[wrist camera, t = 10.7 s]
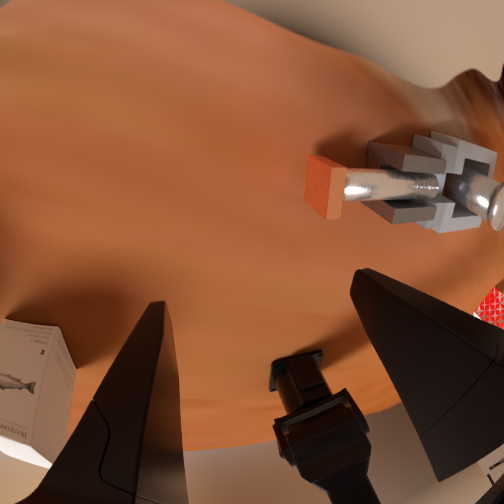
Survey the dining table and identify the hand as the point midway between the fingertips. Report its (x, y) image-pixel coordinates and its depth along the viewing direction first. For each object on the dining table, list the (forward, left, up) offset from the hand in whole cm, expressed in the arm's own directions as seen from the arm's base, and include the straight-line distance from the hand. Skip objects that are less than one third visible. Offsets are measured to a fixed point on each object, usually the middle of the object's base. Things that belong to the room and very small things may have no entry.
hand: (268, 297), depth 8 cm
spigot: (0, -24, -12) cm, 27 cm away
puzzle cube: (-29, -58, -12) cm, 66 cm away
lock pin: (0, -12, -11) cm, 16 cm away
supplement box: (-14, +20, -12) cm, 27 cm away
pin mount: (0, -15, -12) cm, 19 cm away
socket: (0, -23, -12) cm, 26 cm away
